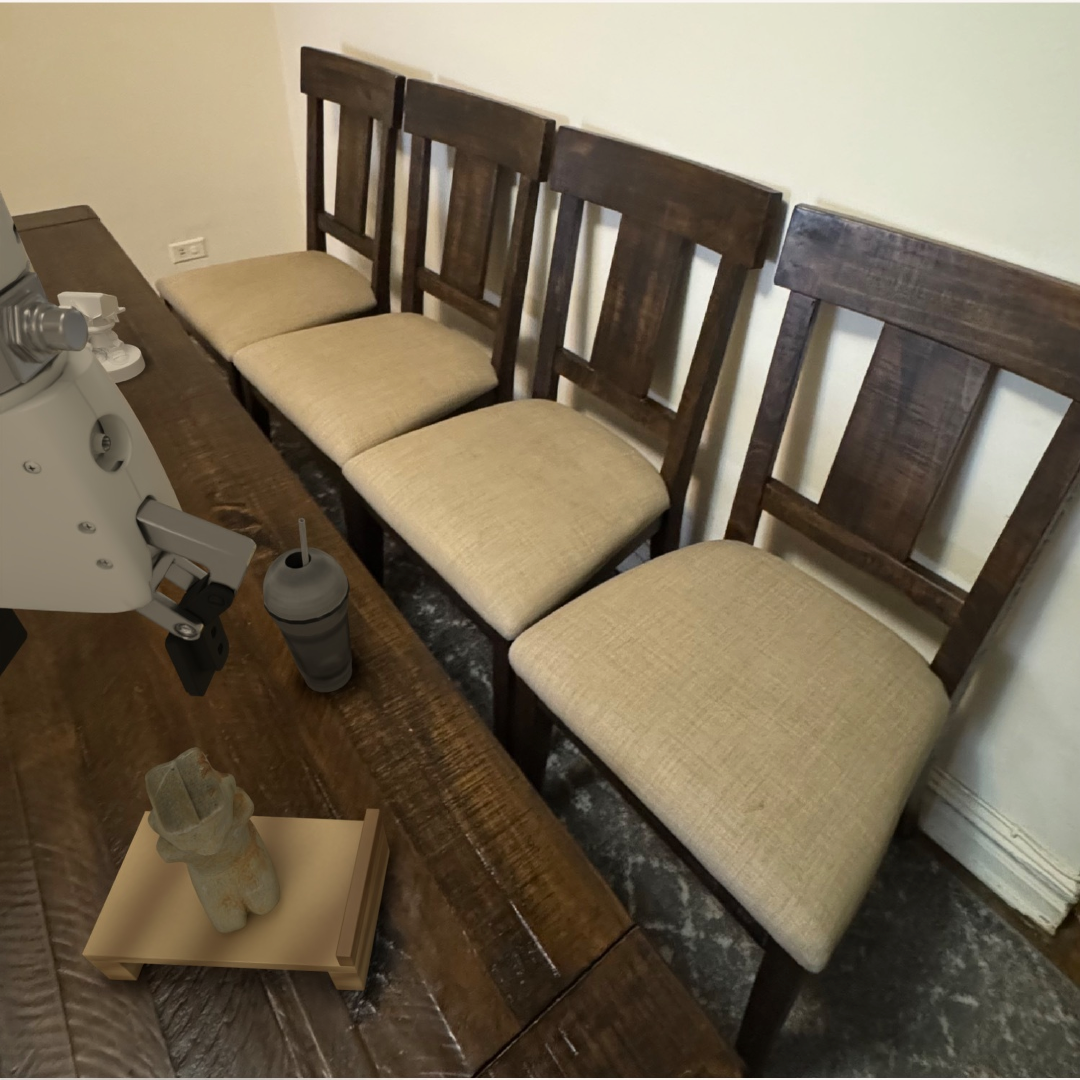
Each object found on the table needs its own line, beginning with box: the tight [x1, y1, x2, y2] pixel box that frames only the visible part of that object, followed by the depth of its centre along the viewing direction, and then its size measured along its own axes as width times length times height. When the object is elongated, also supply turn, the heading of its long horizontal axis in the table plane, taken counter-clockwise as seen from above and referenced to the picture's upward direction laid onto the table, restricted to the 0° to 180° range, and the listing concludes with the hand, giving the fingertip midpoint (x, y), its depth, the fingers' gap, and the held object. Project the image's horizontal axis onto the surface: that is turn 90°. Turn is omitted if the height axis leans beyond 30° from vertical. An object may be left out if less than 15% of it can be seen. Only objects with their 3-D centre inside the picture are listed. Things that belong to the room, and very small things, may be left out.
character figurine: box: [56, 291, 146, 384], centre depth 107 cm, size 9×10×12 cm
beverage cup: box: [262, 517, 353, 693], centre depth 65 cm, size 7×7×20 cm
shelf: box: [81, 808, 390, 992], centre depth 53 cm, size 18×10×7 cm, turn 88°
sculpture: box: [144, 746, 281, 933], centre depth 47 cm, size 6×7×15 cm
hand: (106, 665), depth 35 cm, fingers open, 9 cm apart
